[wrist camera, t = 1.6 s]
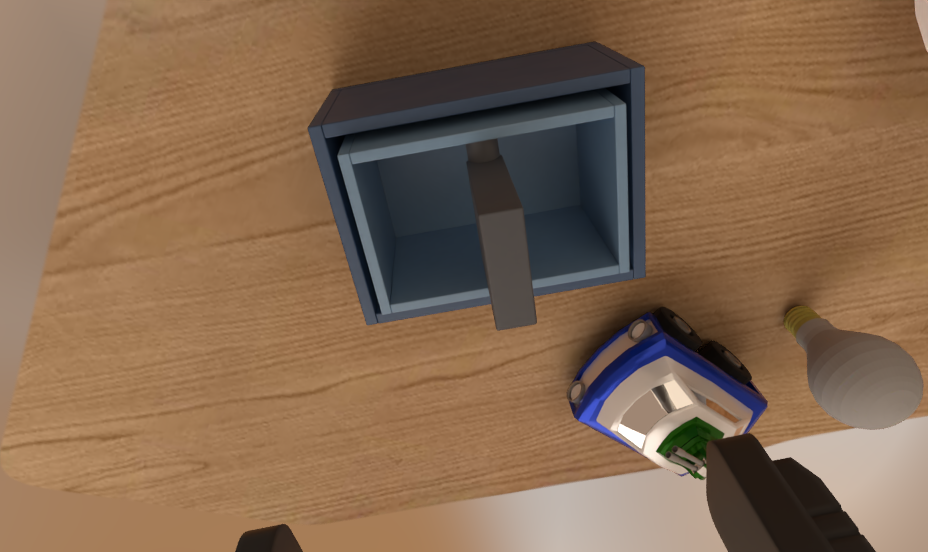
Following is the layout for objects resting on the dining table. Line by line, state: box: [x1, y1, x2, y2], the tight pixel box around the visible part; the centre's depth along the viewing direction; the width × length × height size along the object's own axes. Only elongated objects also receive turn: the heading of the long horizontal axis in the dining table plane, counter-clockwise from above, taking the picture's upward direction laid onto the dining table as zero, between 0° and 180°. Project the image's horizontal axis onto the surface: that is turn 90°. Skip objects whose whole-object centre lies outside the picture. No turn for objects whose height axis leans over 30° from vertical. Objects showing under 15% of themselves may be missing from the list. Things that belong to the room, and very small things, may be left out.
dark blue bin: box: [308, 42, 646, 325], centre depth 30 cm, size 14×10×8 cm
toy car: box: [567, 307, 768, 480], centre depth 37 cm, size 9×12×10 cm
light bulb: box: [784, 306, 923, 430], centre depth 35 cm, size 6×6×10 cm
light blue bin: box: [337, 88, 630, 330], centre depth 27 cm, size 12×8×13 cm, turn 99°
